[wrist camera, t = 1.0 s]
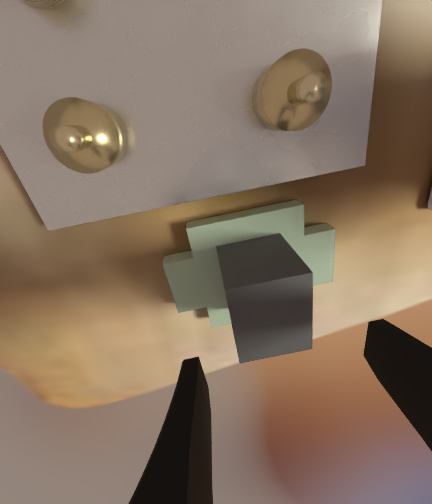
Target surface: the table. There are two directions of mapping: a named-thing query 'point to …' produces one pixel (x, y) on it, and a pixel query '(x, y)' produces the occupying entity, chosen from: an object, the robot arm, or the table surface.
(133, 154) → the plate
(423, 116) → the table surface
